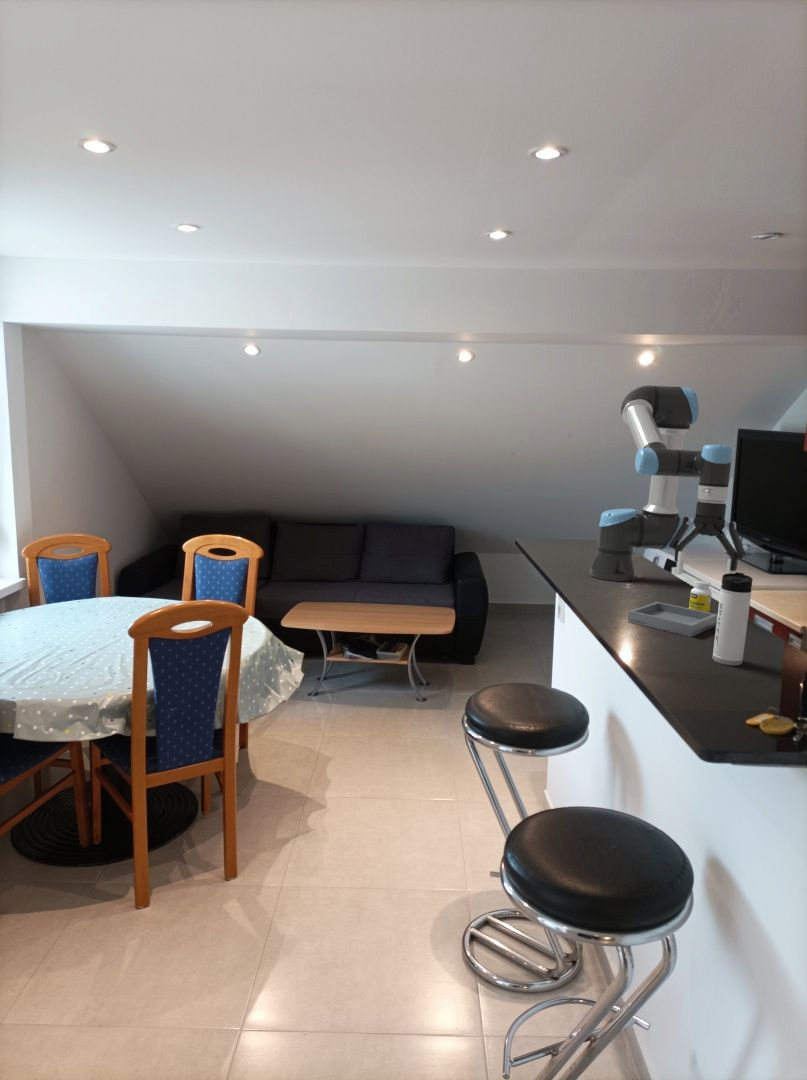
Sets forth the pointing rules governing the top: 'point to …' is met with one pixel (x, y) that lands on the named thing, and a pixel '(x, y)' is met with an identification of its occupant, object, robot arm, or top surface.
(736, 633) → the travel mug
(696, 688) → the top surface
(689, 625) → the tray
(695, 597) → the supplement bottle
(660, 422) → the robot arm
